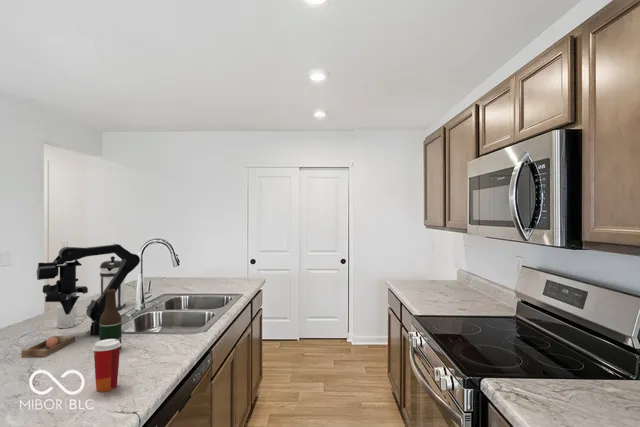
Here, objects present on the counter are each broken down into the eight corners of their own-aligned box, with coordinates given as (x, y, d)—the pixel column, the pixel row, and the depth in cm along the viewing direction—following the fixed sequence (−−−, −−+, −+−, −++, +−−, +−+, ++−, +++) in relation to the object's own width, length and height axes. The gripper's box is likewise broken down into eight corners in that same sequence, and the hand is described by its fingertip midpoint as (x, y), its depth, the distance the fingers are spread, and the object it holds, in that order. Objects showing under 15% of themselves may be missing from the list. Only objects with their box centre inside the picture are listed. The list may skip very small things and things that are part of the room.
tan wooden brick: (68, 343, 152) (68, 335, 152) (64, 345, 149) (64, 337, 149) (52, 343, 152) (52, 335, 152) (48, 345, 149) (48, 337, 149)
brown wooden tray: (75, 343, 154) (75, 335, 154) (45, 359, 137) (45, 350, 137) (54, 343, 154) (54, 335, 154) (21, 360, 137) (21, 350, 137)
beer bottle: (96, 355, 142) (96, 292, 142) (102, 348, 150) (102, 288, 150) (118, 353, 144) (119, 291, 144) (123, 346, 152) (124, 287, 152)
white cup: (59, 330, 172) (60, 308, 173) (53, 327, 177) (53, 306, 177) (78, 326, 179) (79, 305, 179) (72, 323, 184) (72, 303, 184)
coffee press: (134, 307, 215) (134, 255, 215) (106, 313, 202) (106, 258, 202) (117, 303, 224) (117, 253, 225) (89, 309, 211) (90, 256, 211)
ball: (60, 345, 149) (60, 335, 149) (53, 349, 145) (53, 339, 145) (50, 345, 149) (50, 335, 149) (43, 349, 145) (43, 339, 145)
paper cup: (114, 379, 121) (115, 336, 121) (125, 386, 116) (125, 341, 116) (87, 388, 115) (88, 342, 115) (97, 396, 110) (97, 348, 110)
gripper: (63, 273, 165) (62, 308, 165) (31, 281, 147) (31, 320, 146) (88, 273, 165) (88, 308, 165) (60, 281, 147) (59, 320, 147)
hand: (67, 314), depth 156 cm, fingers closed
